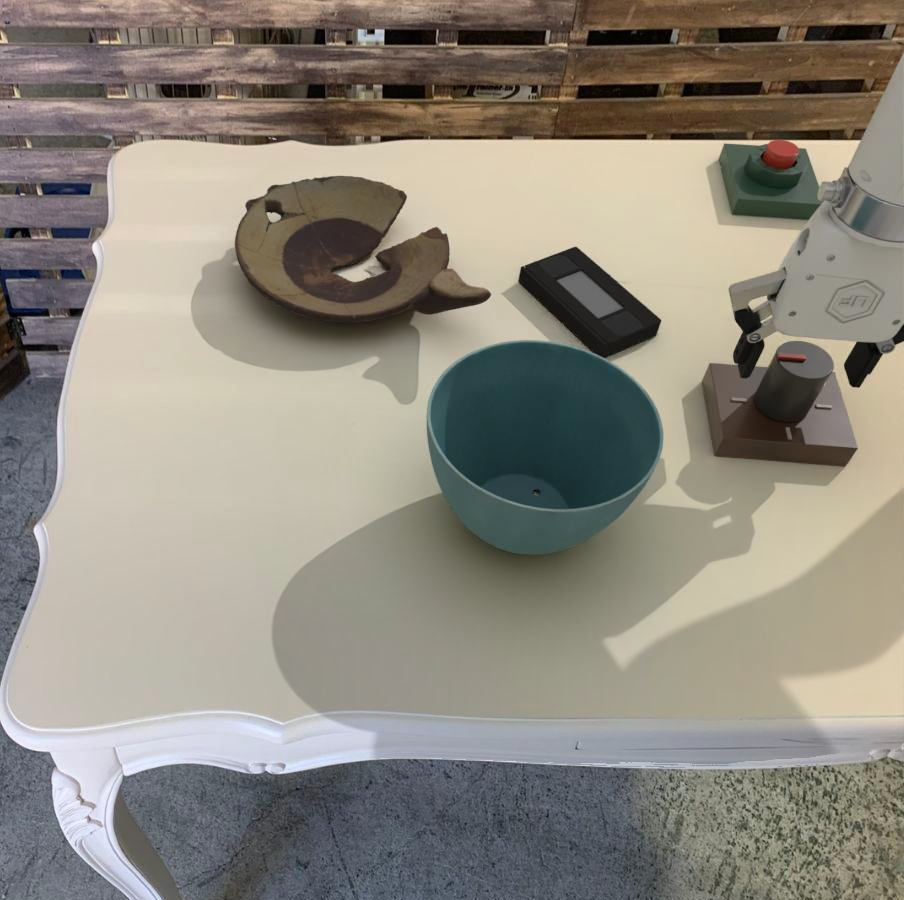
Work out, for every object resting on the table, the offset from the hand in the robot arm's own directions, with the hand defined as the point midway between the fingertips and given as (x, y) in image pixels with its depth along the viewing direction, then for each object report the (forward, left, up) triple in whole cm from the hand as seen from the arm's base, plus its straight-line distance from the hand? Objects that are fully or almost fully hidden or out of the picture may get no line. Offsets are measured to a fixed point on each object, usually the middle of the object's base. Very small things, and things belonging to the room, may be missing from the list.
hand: (796, 372), depth 81 cm
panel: (0, 0, -7) cm, 7 cm away
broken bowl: (+42, -15, -7) cm, 45 cm away
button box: (-6, -40, -7) cm, 41 cm away
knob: (0, 0, -4) cm, 4 cm away
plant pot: (+24, +14, -7) cm, 28 cm away
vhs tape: (+17, -15, -7) cm, 24 cm away
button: (-6, -40, -3) cm, 41 cm away
